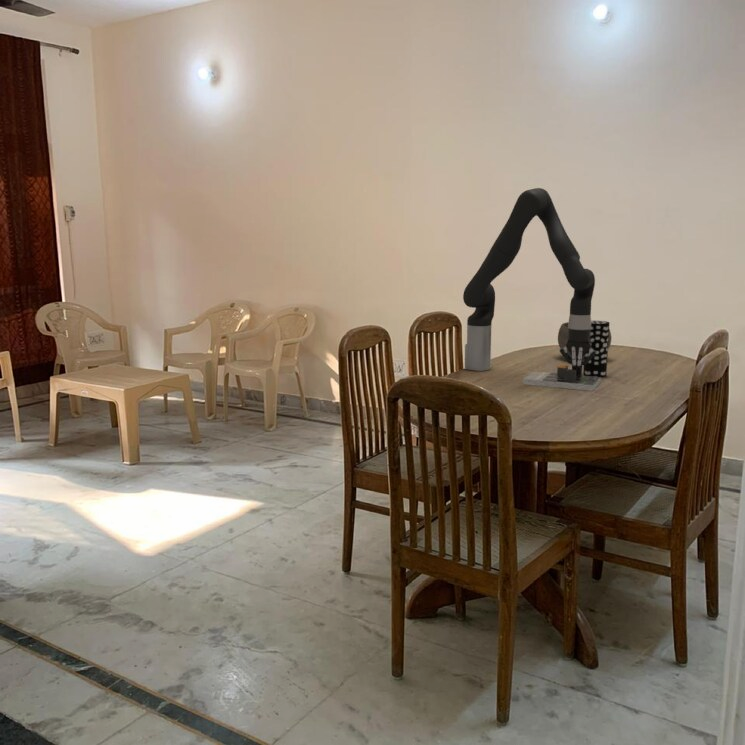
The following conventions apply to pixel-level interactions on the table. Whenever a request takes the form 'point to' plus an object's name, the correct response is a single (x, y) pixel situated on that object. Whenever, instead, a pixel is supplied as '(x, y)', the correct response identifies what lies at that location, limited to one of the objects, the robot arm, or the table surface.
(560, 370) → the block
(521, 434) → the table surface
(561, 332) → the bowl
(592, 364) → the spotted tube
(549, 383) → the panel
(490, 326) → the robot arm
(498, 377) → the table surface
